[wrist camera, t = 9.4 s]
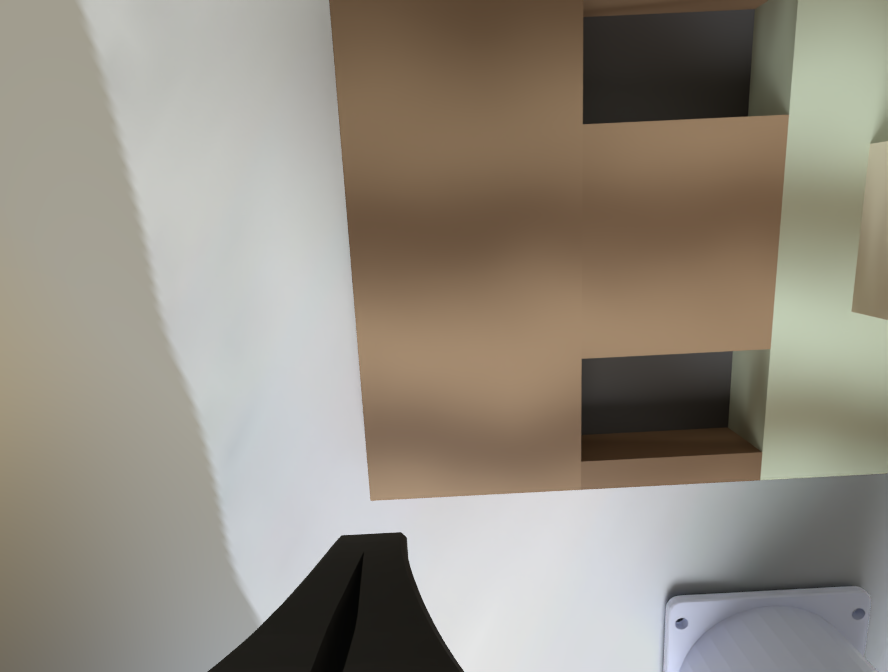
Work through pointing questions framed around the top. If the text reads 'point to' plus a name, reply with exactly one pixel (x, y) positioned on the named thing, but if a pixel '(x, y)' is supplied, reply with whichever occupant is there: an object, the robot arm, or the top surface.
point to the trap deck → (611, 240)
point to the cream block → (873, 239)
